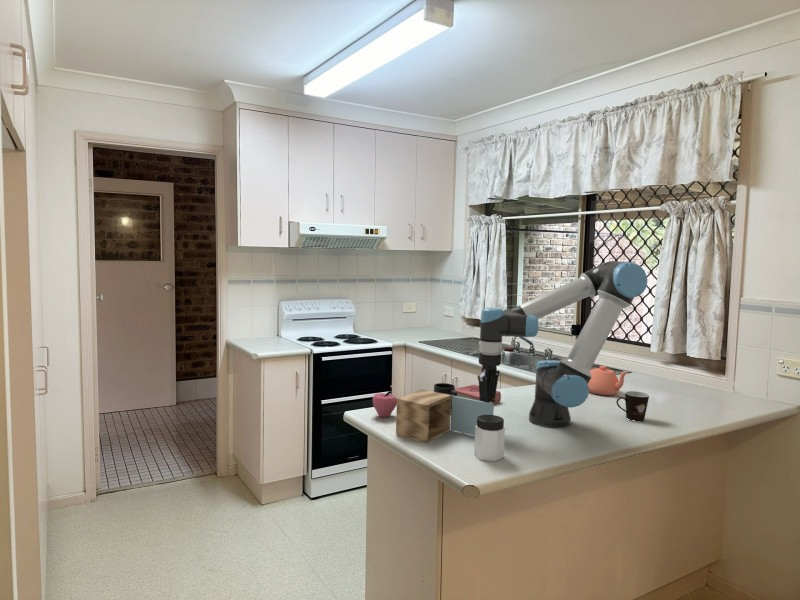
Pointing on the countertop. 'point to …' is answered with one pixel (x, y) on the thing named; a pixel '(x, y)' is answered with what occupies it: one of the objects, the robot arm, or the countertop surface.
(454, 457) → the countertop surface
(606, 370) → the teapot
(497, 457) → the jar
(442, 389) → the mug
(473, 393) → the book
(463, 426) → the door
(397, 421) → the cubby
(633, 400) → the coffee mug
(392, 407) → the apple
